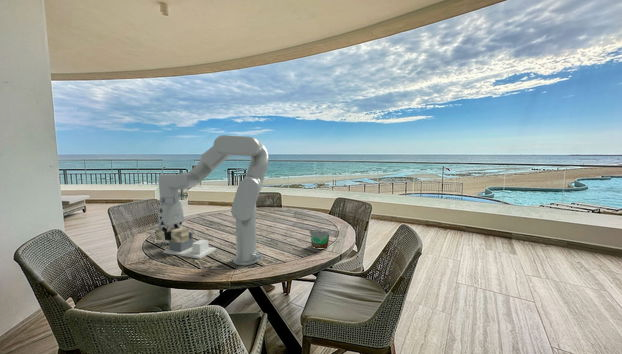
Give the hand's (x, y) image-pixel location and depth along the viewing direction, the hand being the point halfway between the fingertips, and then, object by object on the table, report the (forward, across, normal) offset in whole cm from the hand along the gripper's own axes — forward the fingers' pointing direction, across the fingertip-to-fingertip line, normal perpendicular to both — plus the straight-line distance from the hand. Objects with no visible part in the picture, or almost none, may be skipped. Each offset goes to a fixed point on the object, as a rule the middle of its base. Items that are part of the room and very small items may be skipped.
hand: (172, 237), depth 111 cm
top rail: (+1, 0, 0) cm, 1 cm away
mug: (+12, +20, +24) cm, 33 cm away
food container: (+15, +40, -61) cm, 74 cm away
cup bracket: (+12, +14, +3) cm, 19 cm away
